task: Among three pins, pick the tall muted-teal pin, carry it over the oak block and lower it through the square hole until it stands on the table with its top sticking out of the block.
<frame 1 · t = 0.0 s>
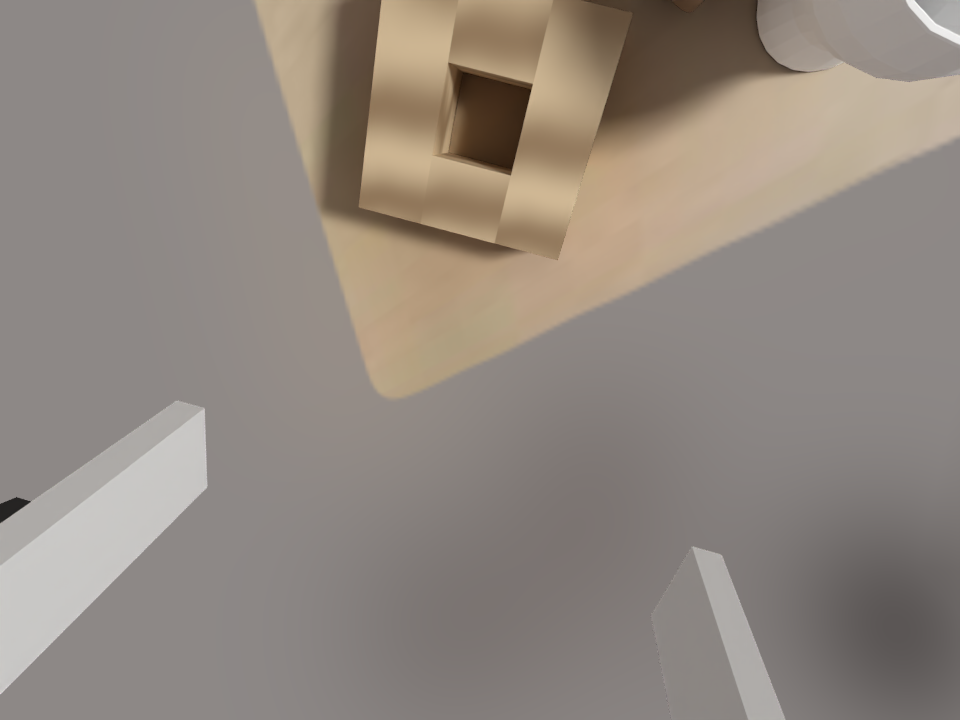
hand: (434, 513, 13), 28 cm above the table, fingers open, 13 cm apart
hole block: (490, 122, 34), on the table
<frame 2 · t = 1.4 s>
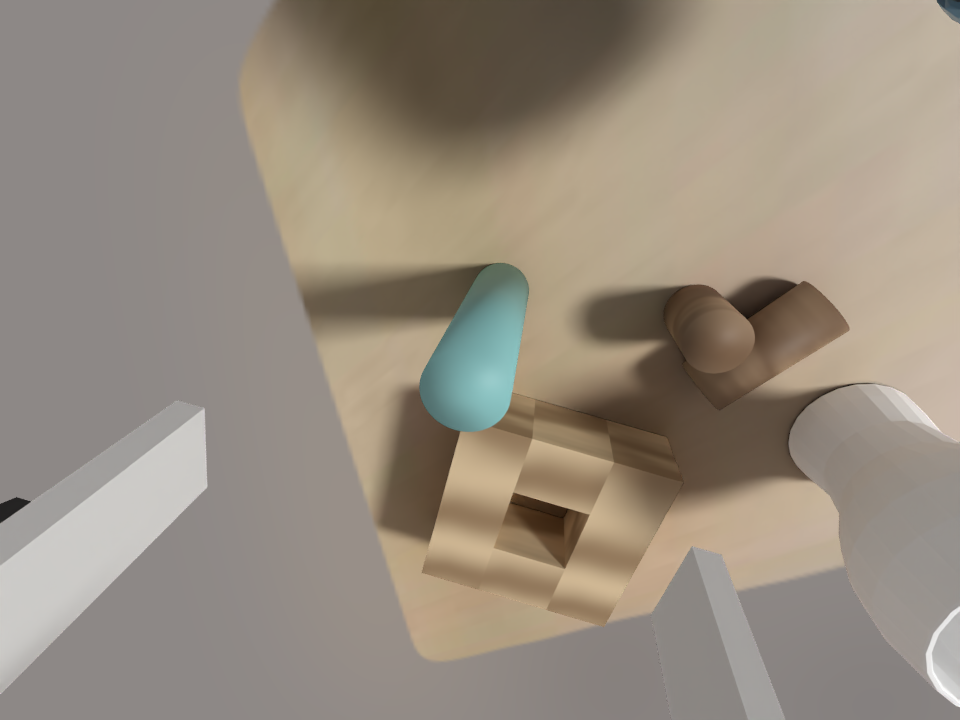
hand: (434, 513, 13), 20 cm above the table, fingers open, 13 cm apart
cup: (850, 433, 32), on the table
hole block: (541, 484, 37), on the table
pin medium: (700, 386, 30), point 2 cm above the table, tilted 90°
pin long: (500, 290, 31), on the table
pin short: (693, 312, 30), on the table
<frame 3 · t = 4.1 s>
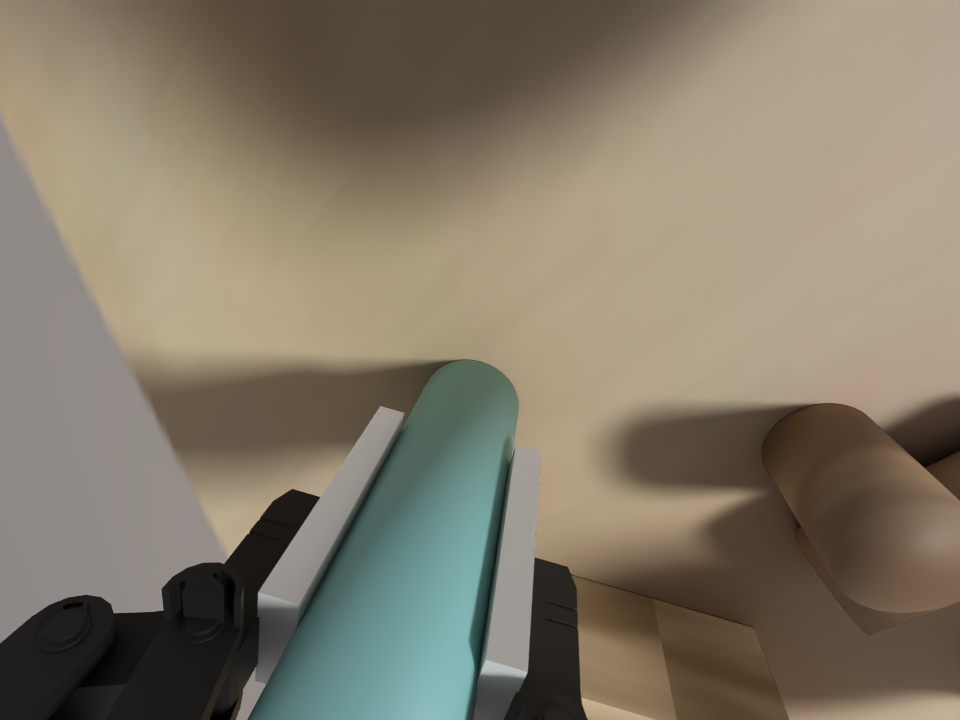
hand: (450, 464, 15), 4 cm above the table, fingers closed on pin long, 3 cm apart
hole block: (547, 675, 24), on the table
pin medium: (830, 579, 17), point 2 cm above the table, tilted 90°
pin long: (470, 403, 18), on the table, touching gripper
pin short: (818, 448, 17), on the table
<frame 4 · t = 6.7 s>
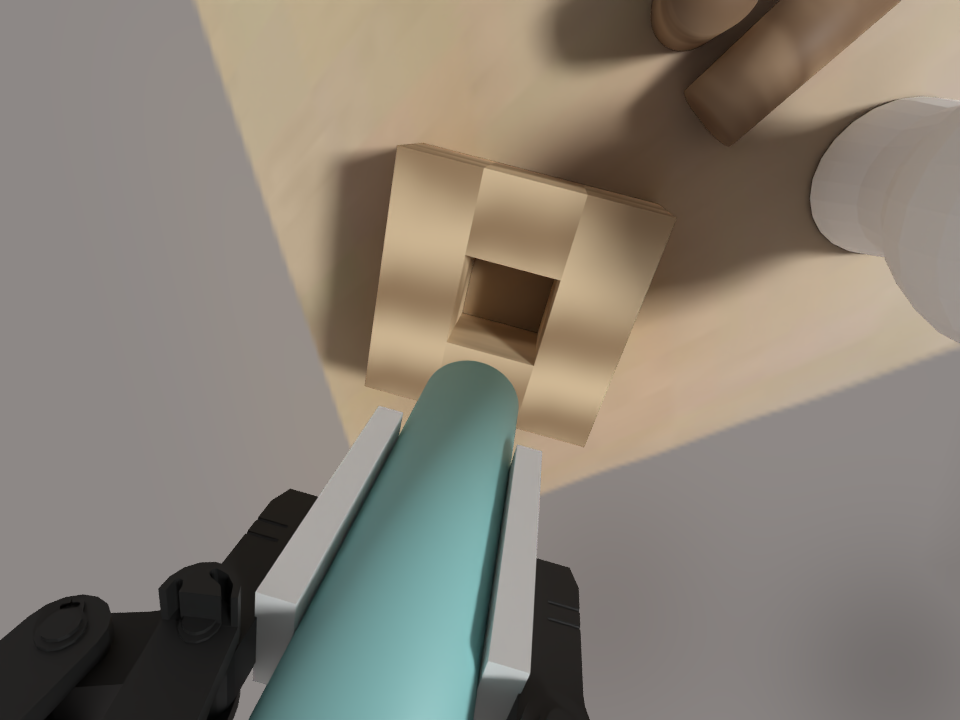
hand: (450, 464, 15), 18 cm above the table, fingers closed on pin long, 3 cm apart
cup: (888, 179, 26), on the table
hole block: (509, 286, 31), on the table
pin medium: (707, 118, 24), point 2 cm above the table, tilted 90°
pin long: (470, 404, 18), point 15 cm above the table, touching gripper
pin short: (688, 7, 24), on the table
when the fingers open (6 cm above the table, at t = 9.2 s): pin long drops 2 cm, resting in hole block.
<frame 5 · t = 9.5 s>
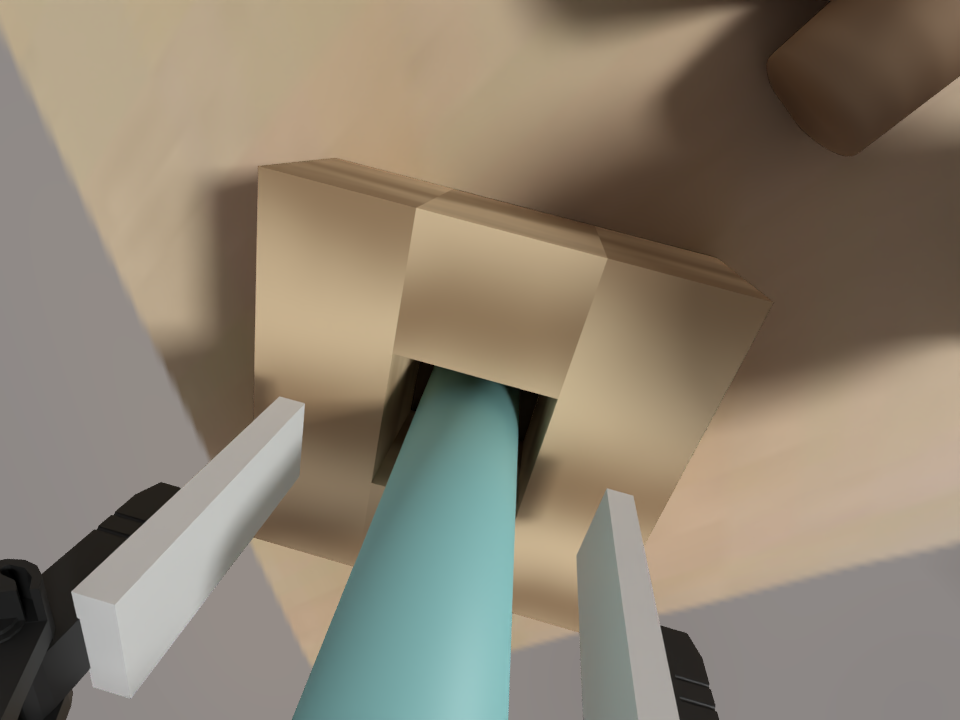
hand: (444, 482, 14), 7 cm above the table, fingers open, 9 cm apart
hole block: (479, 375, 20), on the table
pin medium: (811, 106, 13), point 2 cm above the table, tilted 90°
pin long: (477, 375, 20), resting in hole block
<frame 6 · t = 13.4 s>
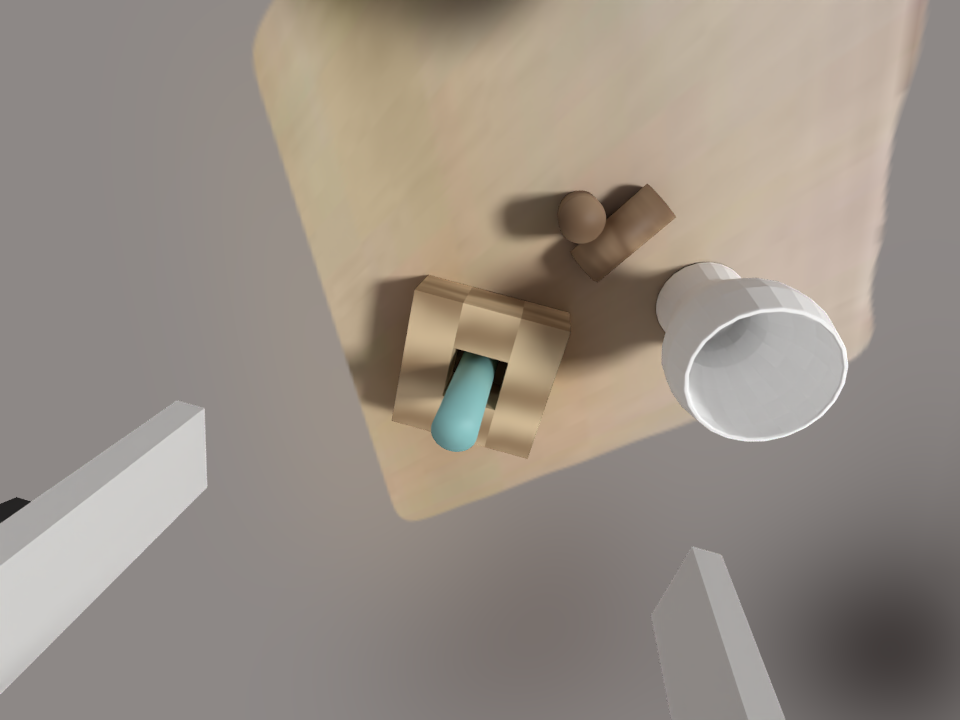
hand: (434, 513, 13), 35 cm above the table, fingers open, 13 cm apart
cup: (699, 303, 44), on the table
hole block: (482, 357, 49), on the table
pin medium: (584, 266, 42), point 2 cm above the table, tilted 90°
pin long: (481, 356, 49), resting in hole block
pin short: (578, 212, 42), on the table
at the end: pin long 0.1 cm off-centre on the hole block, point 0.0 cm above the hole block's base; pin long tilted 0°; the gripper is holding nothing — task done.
